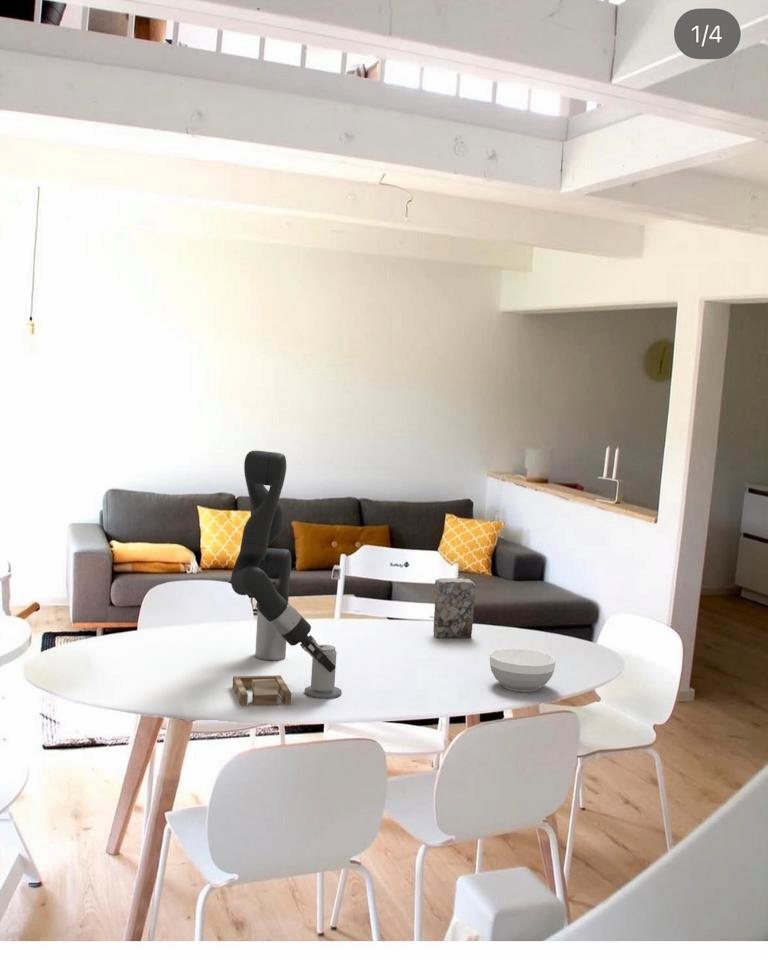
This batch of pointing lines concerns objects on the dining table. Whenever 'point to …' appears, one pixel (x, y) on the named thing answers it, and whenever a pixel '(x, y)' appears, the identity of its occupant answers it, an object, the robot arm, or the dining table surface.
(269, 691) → the birch offcut
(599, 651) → the dining table surface
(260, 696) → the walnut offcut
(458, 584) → the stone block
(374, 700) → the dining table surface
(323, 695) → the slate coaster
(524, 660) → the bowl
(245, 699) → the frame
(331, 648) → the beverage can
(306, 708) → the dining table surface
